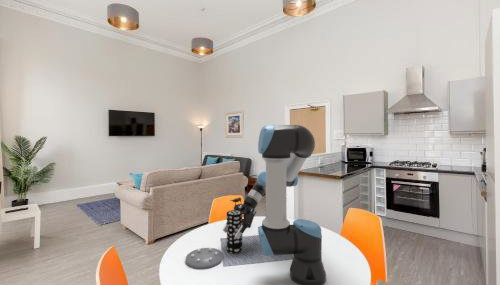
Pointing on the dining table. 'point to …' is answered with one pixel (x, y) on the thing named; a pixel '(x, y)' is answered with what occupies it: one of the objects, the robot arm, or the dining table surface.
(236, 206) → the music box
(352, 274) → the dining table surface
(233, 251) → the white-spotted black cylinder
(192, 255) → the stub plate
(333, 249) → the dining table surface
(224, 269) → the dining table surface
